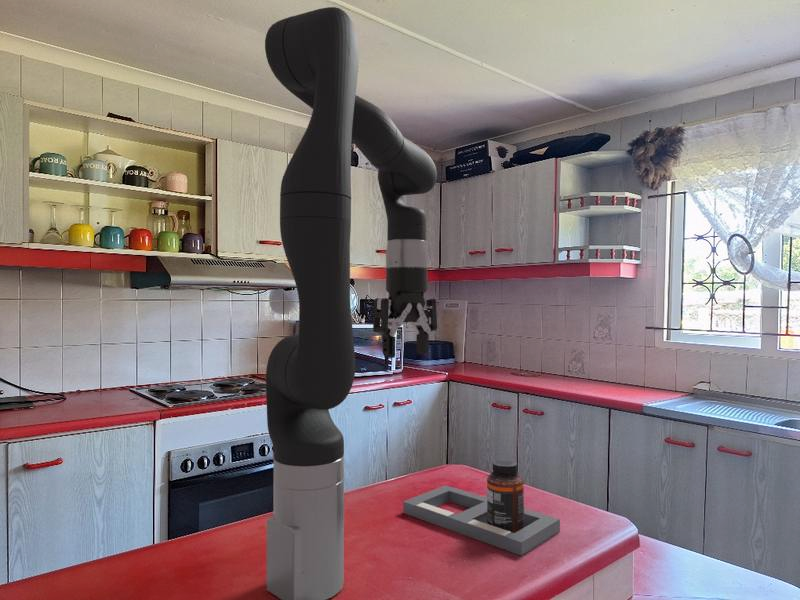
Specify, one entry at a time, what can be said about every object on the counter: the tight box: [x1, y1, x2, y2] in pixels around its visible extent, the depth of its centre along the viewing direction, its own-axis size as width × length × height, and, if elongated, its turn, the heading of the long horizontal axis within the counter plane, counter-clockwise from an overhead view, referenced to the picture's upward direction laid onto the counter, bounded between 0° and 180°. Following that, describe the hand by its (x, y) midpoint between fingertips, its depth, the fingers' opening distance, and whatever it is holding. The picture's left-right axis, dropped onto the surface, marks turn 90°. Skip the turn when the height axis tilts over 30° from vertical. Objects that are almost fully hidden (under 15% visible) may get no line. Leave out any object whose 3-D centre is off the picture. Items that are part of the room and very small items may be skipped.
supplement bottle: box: [486, 458, 525, 533], centre depth 91 cm, size 6×6×11 cm
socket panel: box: [402, 484, 561, 556], centre depth 95 cm, size 12×24×2 cm, turn 47°
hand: (406, 355), depth 100 cm, fingers open, 8 cm apart
